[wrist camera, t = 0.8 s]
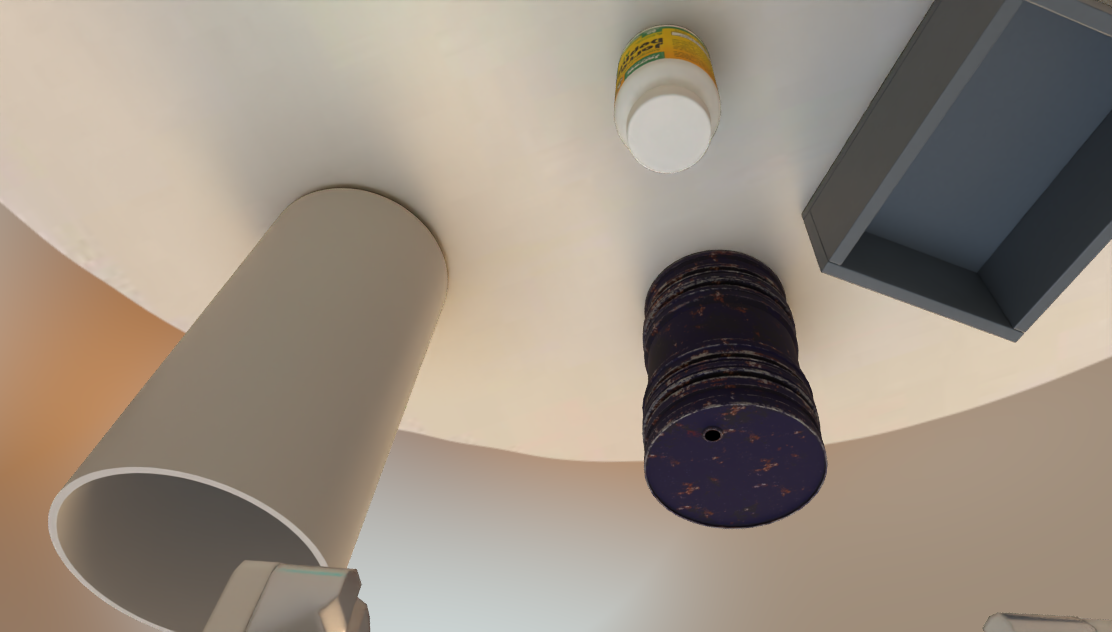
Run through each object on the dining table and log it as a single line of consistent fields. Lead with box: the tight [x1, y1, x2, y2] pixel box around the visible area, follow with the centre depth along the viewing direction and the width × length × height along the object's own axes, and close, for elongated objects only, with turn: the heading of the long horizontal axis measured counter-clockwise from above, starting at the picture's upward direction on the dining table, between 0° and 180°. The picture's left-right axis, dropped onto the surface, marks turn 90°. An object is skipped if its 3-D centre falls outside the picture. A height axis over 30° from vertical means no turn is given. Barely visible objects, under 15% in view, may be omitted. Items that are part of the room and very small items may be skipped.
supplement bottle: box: [614, 25, 721, 173], centre depth 40 cm, size 5×5×10 cm
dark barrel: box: [642, 250, 827, 529], centre depth 47 cm, size 10×10×15 cm
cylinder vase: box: [48, 188, 448, 632], centre depth 44 cm, size 12×12×25 cm
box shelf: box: [802, 0, 1112, 343], centre depth 42 cm, size 17×13×7 cm
